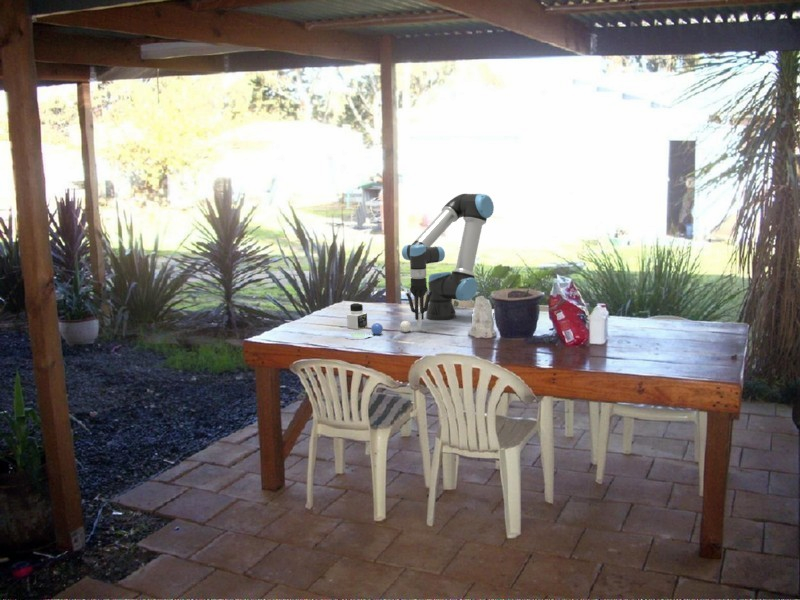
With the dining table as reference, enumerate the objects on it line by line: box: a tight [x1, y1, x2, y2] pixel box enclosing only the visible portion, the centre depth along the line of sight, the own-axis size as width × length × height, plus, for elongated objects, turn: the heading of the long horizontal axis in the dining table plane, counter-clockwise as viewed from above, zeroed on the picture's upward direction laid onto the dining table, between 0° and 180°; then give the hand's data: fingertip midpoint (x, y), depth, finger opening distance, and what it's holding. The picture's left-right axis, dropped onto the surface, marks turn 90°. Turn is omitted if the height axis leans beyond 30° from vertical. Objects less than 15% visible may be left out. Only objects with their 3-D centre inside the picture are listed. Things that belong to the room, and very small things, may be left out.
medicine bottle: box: [346, 302, 368, 330], centre depth 401 cm, size 7×7×12 cm
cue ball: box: [399, 320, 412, 333], centre depth 388 cm, size 6×6×6 cm
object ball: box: [370, 322, 384, 336], centre depth 385 cm, size 6×6×6 cm
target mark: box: [349, 332, 371, 340], centre depth 384 cm, size 14×14×1 cm
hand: (419, 326), depth 389 cm, fingers closed
